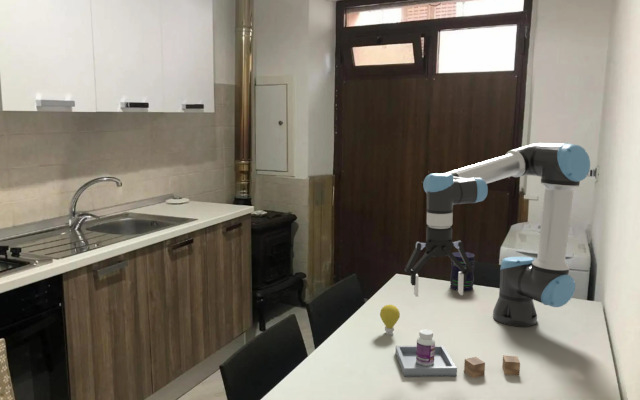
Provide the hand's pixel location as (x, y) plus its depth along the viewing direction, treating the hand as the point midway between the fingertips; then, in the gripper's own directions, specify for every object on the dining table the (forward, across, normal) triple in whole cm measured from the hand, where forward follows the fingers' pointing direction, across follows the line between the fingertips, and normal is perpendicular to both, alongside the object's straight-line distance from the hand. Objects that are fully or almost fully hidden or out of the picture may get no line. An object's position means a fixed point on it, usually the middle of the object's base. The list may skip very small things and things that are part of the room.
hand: (438, 294), depth 157 cm
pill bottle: (+19, +5, +5) cm, 21 cm away
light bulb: (+20, +12, -18) cm, 29 cm away
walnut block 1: (+20, -8, +12) cm, 24 cm away
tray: (+20, +5, +5) cm, 21 cm away
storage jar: (+22, -28, -65) cm, 74 cm away
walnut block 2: (+20, -19, +11) cm, 30 cm away
